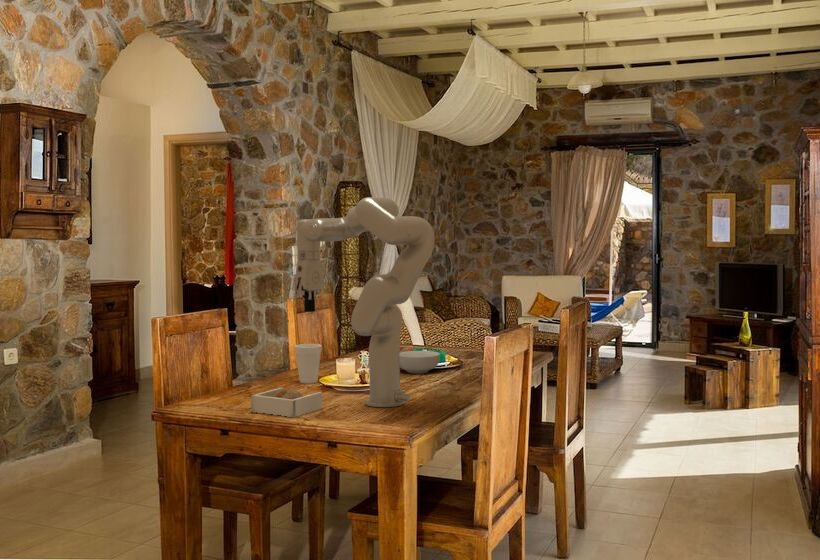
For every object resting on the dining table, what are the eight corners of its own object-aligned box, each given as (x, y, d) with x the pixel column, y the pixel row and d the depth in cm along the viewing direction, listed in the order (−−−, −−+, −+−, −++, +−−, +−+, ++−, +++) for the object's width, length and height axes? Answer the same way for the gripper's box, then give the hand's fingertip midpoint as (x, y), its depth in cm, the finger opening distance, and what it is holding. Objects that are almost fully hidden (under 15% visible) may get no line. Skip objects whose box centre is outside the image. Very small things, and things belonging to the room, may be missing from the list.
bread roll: (293, 425, 249) (303, 401, 248) (263, 410, 250) (273, 386, 249) (303, 417, 259) (313, 395, 257) (274, 403, 260) (284, 380, 259)
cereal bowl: (448, 371, 318) (448, 352, 317) (420, 377, 305) (420, 358, 305) (415, 366, 329) (415, 348, 329) (386, 372, 317) (386, 353, 316)
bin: (322, 408, 255) (322, 392, 254) (293, 417, 243) (292, 400, 242) (281, 403, 263) (281, 387, 263) (251, 411, 251) (251, 395, 251)
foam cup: (318, 378, 305) (318, 343, 304) (324, 383, 296) (323, 346, 295) (293, 380, 302) (292, 344, 301) (297, 385, 293) (297, 348, 292)
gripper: (303, 257, 269) (304, 314, 271) (331, 255, 282) (332, 309, 283) (285, 257, 273) (286, 313, 275) (313, 255, 286) (314, 308, 287)
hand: (309, 311), depth 279 cm, fingers closed
